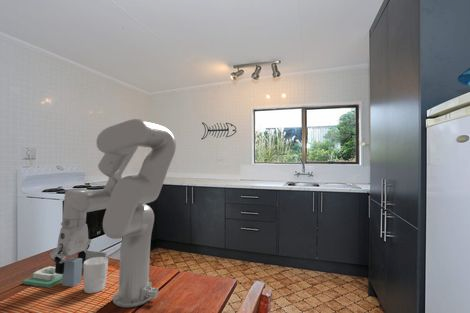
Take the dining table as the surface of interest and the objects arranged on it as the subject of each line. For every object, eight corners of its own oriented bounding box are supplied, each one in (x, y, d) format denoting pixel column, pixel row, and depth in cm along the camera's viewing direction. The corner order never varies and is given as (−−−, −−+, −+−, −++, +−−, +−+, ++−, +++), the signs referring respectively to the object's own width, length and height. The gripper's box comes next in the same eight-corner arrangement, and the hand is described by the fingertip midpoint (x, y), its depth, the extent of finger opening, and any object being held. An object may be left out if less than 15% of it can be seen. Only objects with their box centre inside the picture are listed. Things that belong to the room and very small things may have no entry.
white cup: (79, 288, 90) (80, 260, 91) (102, 281, 96) (103, 255, 97) (86, 296, 85) (87, 266, 86) (110, 289, 91) (111, 261, 91)
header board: (76, 274, 102) (77, 266, 102) (49, 287, 91) (49, 279, 91) (52, 270, 105) (52, 263, 105) (22, 283, 93) (23, 275, 93)
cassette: (106, 270, 107) (107, 251, 108) (103, 271, 106) (104, 253, 106) (83, 266, 110) (84, 249, 110) (80, 268, 108) (81, 250, 109)
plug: (81, 282, 95) (82, 258, 96) (73, 286, 92) (74, 261, 92) (67, 280, 96) (69, 256, 97) (59, 284, 93) (60, 260, 93)
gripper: (62, 228, 86) (58, 279, 85) (99, 218, 103) (96, 261, 102) (44, 226, 87) (40, 276, 87) (84, 217, 104) (80, 258, 104)
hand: (70, 268), depth 94 cm, fingers open, 9 cm apart
